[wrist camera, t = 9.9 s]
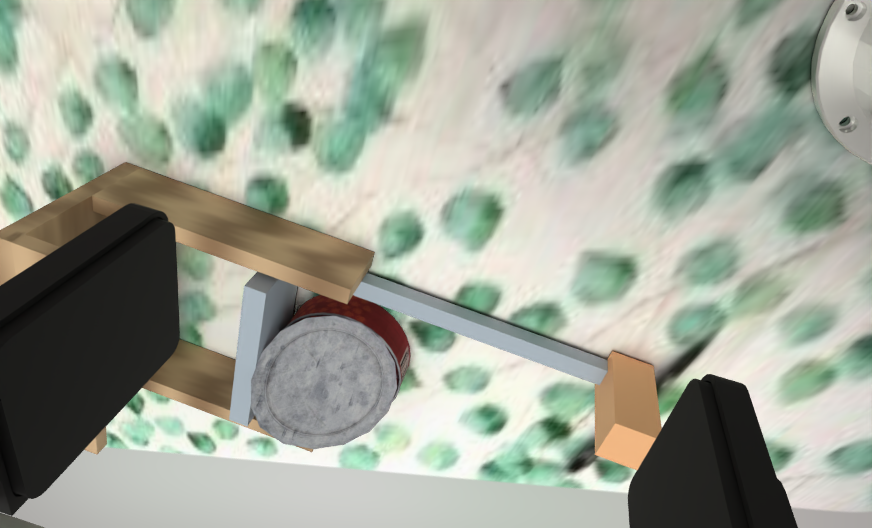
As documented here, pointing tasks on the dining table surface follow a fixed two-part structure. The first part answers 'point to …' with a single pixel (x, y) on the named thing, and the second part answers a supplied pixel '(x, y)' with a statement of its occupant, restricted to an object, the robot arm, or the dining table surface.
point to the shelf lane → (201, 229)
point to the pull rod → (614, 378)
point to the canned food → (329, 373)
